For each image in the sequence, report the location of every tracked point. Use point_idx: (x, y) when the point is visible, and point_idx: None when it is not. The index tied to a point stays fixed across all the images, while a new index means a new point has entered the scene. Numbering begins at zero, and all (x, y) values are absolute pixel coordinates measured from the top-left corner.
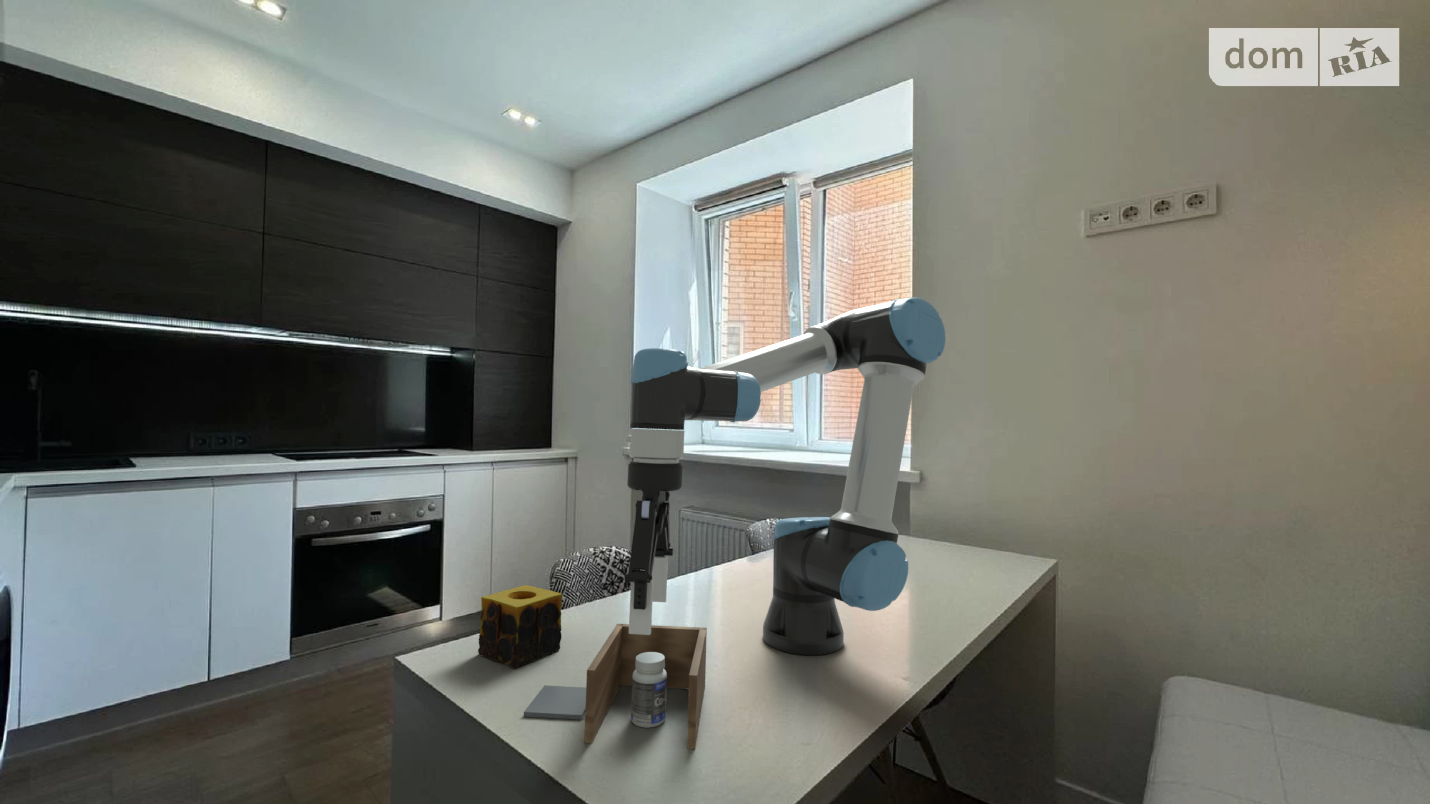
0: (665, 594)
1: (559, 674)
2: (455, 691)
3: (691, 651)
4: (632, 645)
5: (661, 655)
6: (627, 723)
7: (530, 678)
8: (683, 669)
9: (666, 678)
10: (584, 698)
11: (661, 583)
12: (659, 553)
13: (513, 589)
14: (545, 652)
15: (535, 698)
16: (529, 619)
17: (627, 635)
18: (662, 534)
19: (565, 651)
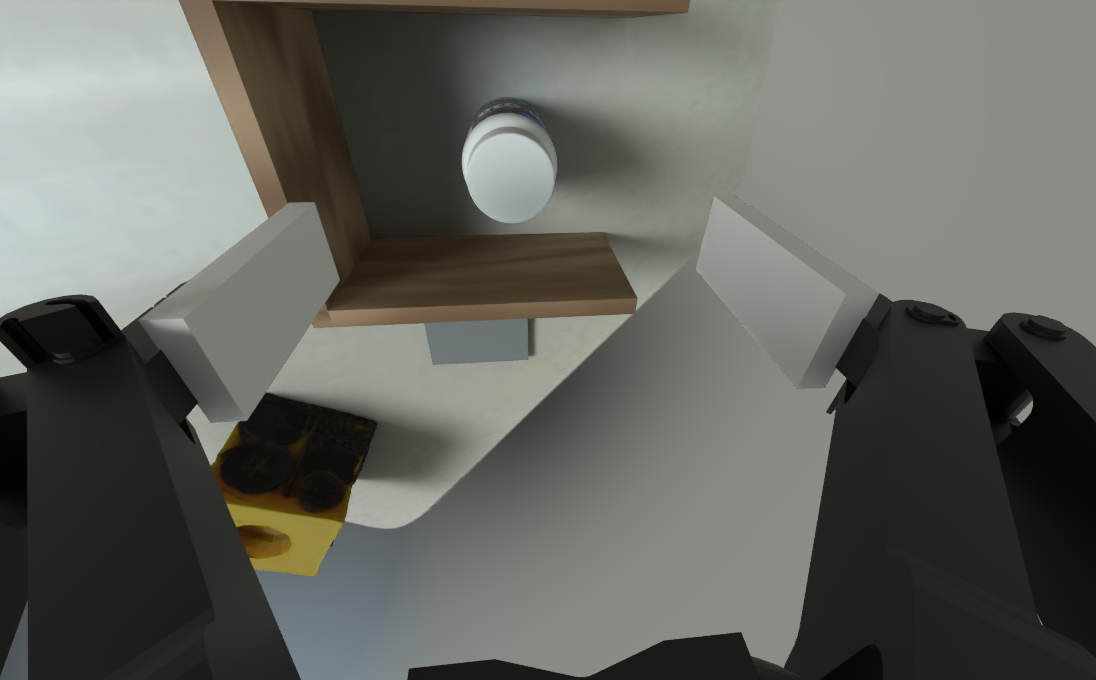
0: (300, 217)
1: (366, 358)
2: (471, 451)
3: (272, 42)
4: (335, 254)
5: (491, 146)
6: None
7: (400, 391)
8: (306, 70)
9: (510, 112)
10: None
11: (285, 262)
12: (165, 390)
13: None
14: (298, 408)
15: (482, 360)
16: (318, 484)
17: None
18: (201, 530)
19: None
